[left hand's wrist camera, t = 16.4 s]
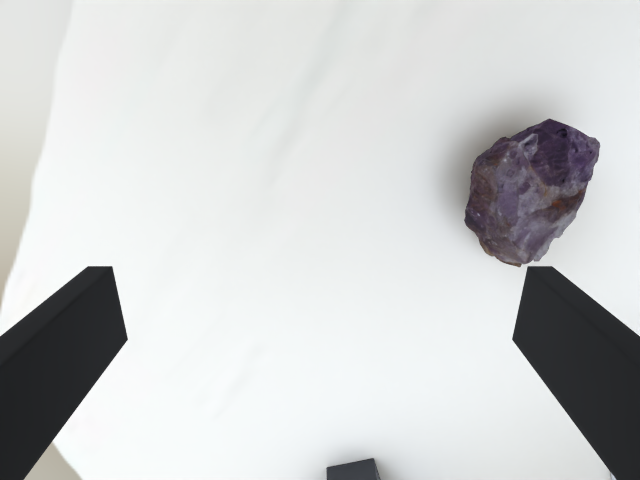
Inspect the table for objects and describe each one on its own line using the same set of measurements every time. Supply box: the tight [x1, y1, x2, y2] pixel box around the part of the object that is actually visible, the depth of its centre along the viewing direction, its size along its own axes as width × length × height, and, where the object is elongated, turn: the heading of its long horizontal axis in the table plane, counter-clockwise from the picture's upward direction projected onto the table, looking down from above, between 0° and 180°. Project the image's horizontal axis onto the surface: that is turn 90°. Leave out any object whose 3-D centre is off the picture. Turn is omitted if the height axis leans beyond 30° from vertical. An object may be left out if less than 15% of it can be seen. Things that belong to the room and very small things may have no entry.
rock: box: [464, 119, 600, 267], centre depth 33 cm, size 12×9×10 cm
